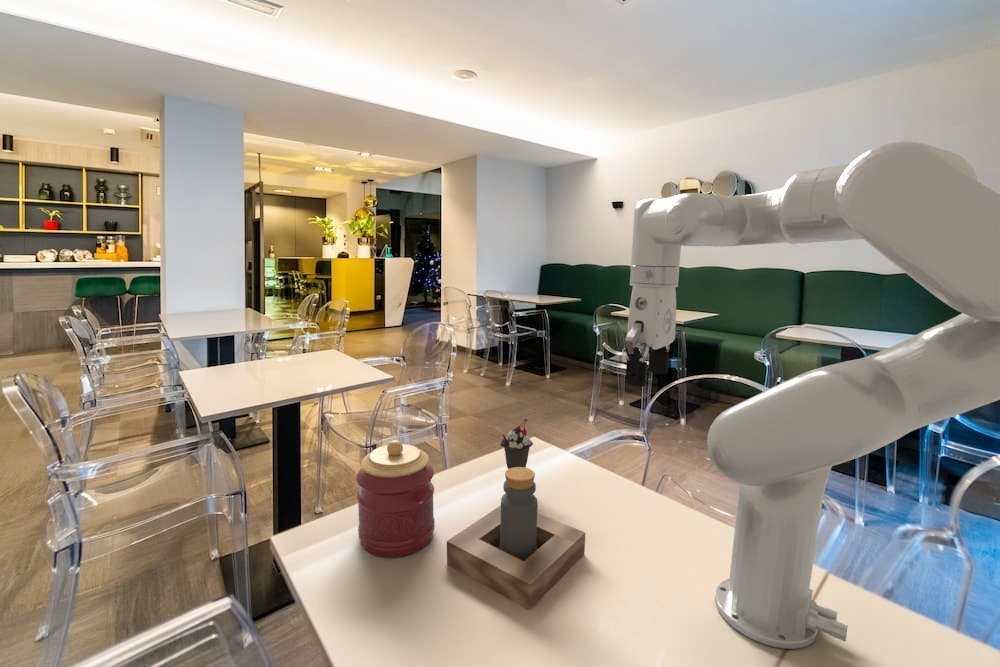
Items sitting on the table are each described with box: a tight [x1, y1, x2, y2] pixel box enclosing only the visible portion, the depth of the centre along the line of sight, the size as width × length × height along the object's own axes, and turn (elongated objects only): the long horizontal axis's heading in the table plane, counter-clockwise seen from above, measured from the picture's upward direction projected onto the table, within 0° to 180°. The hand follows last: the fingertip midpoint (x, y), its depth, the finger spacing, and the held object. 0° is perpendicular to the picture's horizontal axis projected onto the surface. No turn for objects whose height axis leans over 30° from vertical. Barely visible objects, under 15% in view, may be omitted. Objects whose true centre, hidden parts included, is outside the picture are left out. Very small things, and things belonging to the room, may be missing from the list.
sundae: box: [500, 418, 534, 470], centre depth 102 cm, size 7×7×15 cm
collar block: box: [446, 504, 586, 611], centre depth 79 cm, size 16×16×4 cm
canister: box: [355, 439, 436, 558], centre depth 84 cm, size 13×13×18 cm
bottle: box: [499, 467, 539, 561], centre depth 78 cm, size 6×6×15 cm
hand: (647, 378), depth 83 cm, fingers open, 9 cm apart
